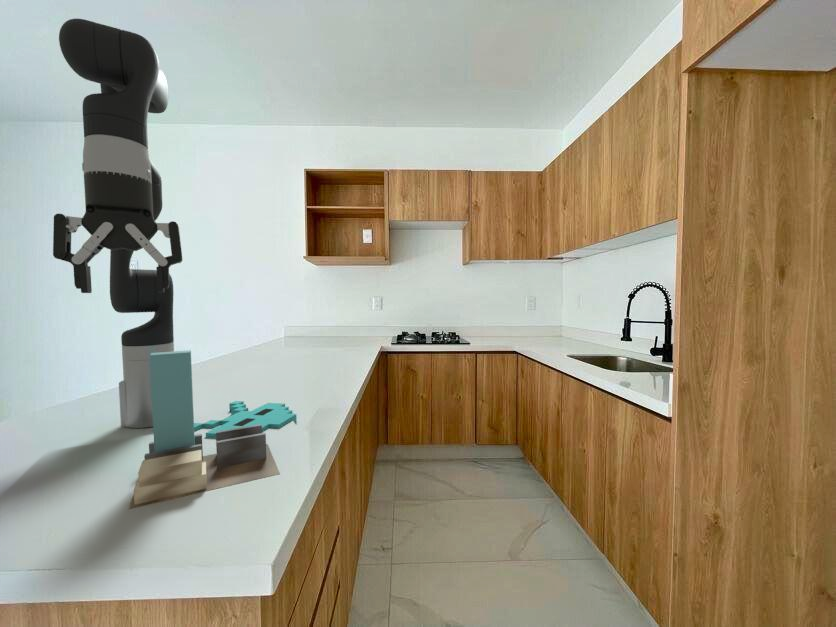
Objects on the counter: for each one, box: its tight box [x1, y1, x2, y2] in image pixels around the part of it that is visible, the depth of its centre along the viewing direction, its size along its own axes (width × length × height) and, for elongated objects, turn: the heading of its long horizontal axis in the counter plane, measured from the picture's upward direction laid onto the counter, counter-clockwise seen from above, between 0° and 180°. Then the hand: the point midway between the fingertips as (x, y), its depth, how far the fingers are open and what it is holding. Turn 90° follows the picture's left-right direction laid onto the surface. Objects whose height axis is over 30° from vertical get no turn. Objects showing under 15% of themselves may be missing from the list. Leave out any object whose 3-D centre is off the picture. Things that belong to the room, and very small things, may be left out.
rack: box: [128, 424, 281, 510], centre depth 57 cm, size 18×13×5 cm
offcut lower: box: [133, 462, 207, 505], centre depth 52 cm, size 8×4×2 cm, turn 119°
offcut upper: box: [137, 450, 202, 487], centre depth 52 cm, size 7×4×2 cm, turn 119°
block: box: [150, 349, 195, 452], centre depth 57 cm, size 5×2×18 cm, turn 120°
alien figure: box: [194, 400, 298, 439], centre depth 80 cm, size 20×2×20 cm
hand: (125, 292), depth 54 cm, fingers open, 8 cm apart
